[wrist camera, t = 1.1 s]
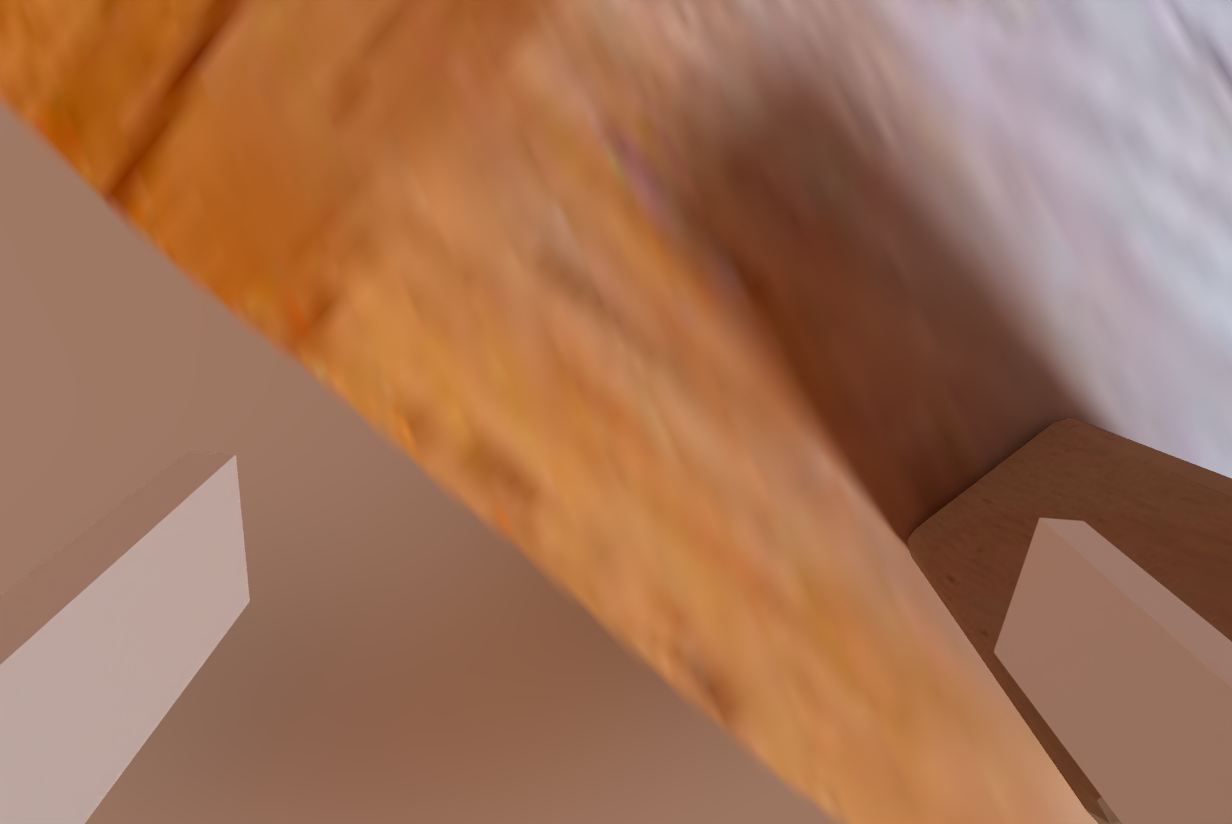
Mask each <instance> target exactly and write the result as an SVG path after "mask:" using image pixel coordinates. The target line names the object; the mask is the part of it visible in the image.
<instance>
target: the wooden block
mask: <svg viewBox="0 0 1232 824" xmlns="http://www.w3.org/2000/svg"><path fill="white" fill-rule="evenodd" d="M1039 518H1051V519H1064V520H1077V521H1084V522H1085V523H1087V524H1088V525H1089V526H1090V527H1092V528H1093V529H1094V530H1095V531H1096V532H1098V533H1099V534H1100V535H1101V536H1103V537H1104V538H1105V539H1106V540H1108V541H1109V542H1110V543H1111V544H1112V545H1114V546H1115V547H1116V548H1117V549H1119V550H1120V551H1121V552H1122V553H1123V554H1125V555H1126V556H1127V557H1128V558H1130V559H1131V560H1132V561H1133V562H1135V563H1136V564H1137V565H1138V566H1139V567H1141V568H1142V569H1143V570H1144V571H1146V572H1147V573H1148V574H1149V575H1150V576H1152V577H1153V578H1154V579H1155V580H1157V581H1158V582H1159V583H1160V584H1162V585H1163V586H1164V587H1165V588H1166V589H1168V590H1169V591H1170V592H1171V593H1173V594H1174V595H1175V596H1176V597H1177V598H1179V599H1180V600H1181V601H1182V602H1184V603H1185V604H1186V605H1187V606H1189V607H1190V608H1191V609H1192V610H1193V611H1195V612H1196V613H1197V614H1198V615H1200V616H1201V617H1202V618H1203V619H1204V620H1206V621H1207V622H1208V623H1209V624H1211V625H1212V626H1213V627H1214V628H1216V629H1217V630H1218V631H1219V632H1220V633H1222V634H1223V635H1224V636H1225V637H1227V638H1228V639H1229V640H1230V641H1231V642H1232V479H1231V478H1228V477H1226V476H1223V475H1221V474H1218V473H1215V472H1213V471H1210V470H1208V469H1205V468H1202V467H1200V466H1197V465H1194V464H1192V463H1189V462H1187V461H1184V460H1181V459H1179V458H1176V457H1174V456H1171V455H1168V454H1166V453H1163V452H1160V451H1158V450H1155V449H1153V448H1150V447H1147V446H1145V445H1142V444H1140V443H1137V442H1134V441H1132V440H1129V439H1126V438H1124V437H1121V436H1119V435H1116V434H1113V433H1111V432H1108V431H1106V430H1103V429H1100V428H1098V427H1095V426H1092V425H1090V424H1087V423H1085V422H1082V421H1079V420H1077V419H1074V418H1072V417H1070V418H1066V419H1063V420H1060V421H1057V422H1054V423H1052V424H1051V425H1050V426H1048V427H1047V428H1046V429H1045V430H1043V431H1042V432H1041V433H1039V434H1038V435H1037V436H1035V437H1034V438H1033V439H1032V440H1030V441H1029V442H1028V443H1026V444H1025V445H1024V446H1022V447H1021V448H1020V449H1019V450H1017V451H1016V452H1015V453H1013V454H1012V455H1011V456H1009V457H1008V458H1007V459H1006V460H1004V461H1003V462H1002V463H1000V464H999V465H998V466H996V467H995V468H994V469H993V470H991V471H990V472H989V473H987V474H986V475H985V476H983V477H982V478H981V479H980V480H978V481H977V482H976V483H974V484H973V485H972V486H970V487H969V488H968V489H967V490H965V491H964V492H963V493H961V494H960V495H959V496H957V497H956V498H955V499H954V500H952V501H951V502H950V503H948V504H947V505H946V506H944V507H943V508H942V509H941V510H939V511H938V512H937V513H935V514H934V515H933V516H931V517H930V518H929V519H928V520H926V521H925V522H924V523H922V524H921V525H920V526H918V527H917V528H916V529H915V530H914V531H913V533H912V534H911V536H910V537H909V538H908V541H907V544H908V547H909V550H910V553H911V556H912V558H913V559H914V561H915V562H916V564H917V565H918V567H919V568H920V570H921V571H922V572H923V574H924V575H925V577H926V578H927V580H928V581H929V583H930V584H931V585H932V587H933V588H934V590H935V591H936V593H937V594H938V596H939V597H940V599H941V600H942V601H943V603H944V604H945V606H946V607H947V609H948V610H949V612H950V613H951V615H952V616H953V617H954V619H955V620H956V622H957V623H958V625H959V626H960V628H961V629H962V630H963V632H964V633H965V635H966V636H967V638H968V639H969V641H970V642H971V644H972V645H973V646H974V648H975V649H976V651H977V652H978V654H979V655H980V657H981V658H982V660H983V661H984V662H985V664H986V665H987V667H988V668H989V670H990V671H991V673H992V674H993V675H994V677H995V678H996V680H997V681H998V683H999V684H1000V686H1001V687H1002V689H1003V690H1004V691H1005V693H1006V694H1007V696H1008V697H1009V699H1010V700H1011V702H1012V703H1013V705H1014V706H1015V707H1016V709H1017V710H1018V712H1019V713H1020V715H1021V716H1022V718H1023V719H1024V720H1025V722H1026V723H1027V725H1028V726H1029V728H1030V729H1031V731H1032V732H1033V734H1034V735H1035V736H1036V738H1037V739H1038V741H1039V742H1040V744H1041V745H1042V747H1043V748H1044V750H1045V751H1046V752H1047V754H1048V755H1049V757H1050V758H1051V760H1052V761H1053V763H1054V764H1055V765H1056V767H1057V768H1058V770H1059V771H1060V773H1061V774H1062V776H1063V777H1064V779H1065V780H1066V781H1067V783H1068V784H1069V786H1070V787H1071V789H1072V790H1073V792H1074V793H1075V794H1076V796H1077V797H1078V799H1079V800H1080V802H1081V803H1082V805H1083V806H1084V808H1085V809H1086V810H1087V811H1088V813H1089V814H1090V815H1091V816H1092V817H1093V818H1094V819H1095V820H1096V821H1097V822H1098V823H1099V824H1122V823H1121V822H1120V820H1119V819H1118V818H1117V816H1116V815H1115V814H1114V812H1113V811H1112V810H1111V808H1110V807H1109V806H1108V804H1107V803H1106V802H1105V800H1104V799H1103V798H1102V796H1101V795H1100V794H1099V792H1098V791H1097V790H1096V788H1095V787H1094V786H1093V784H1092V783H1091V782H1090V780H1089V779H1088V778H1087V776H1086V775H1085V774H1084V772H1083V771H1082V770H1081V768H1080V767H1079V766H1078V764H1077V763H1076V762H1075V760H1074V759H1073V758H1072V756H1071V755H1070V754H1069V752H1068V751H1067V750H1066V748H1065V747H1064V746H1063V744H1062V743H1061V742H1060V740H1059V739H1058V738H1057V736H1056V735H1055V734H1054V732H1053V731H1052V730H1051V728H1050V727H1049V725H1048V724H1047V723H1046V721H1045V720H1044V719H1043V717H1042V716H1041V715H1040V713H1039V712H1038V711H1037V709H1036V708H1035V707H1034V705H1033V704H1032V703H1031V701H1030V700H1029V699H1028V697H1027V696H1026V695H1025V693H1024V692H1023V691H1022V689H1021V688H1020V687H1019V685H1018V684H1017V683H1016V681H1015V680H1014V679H1013V677H1012V676H1011V675H1010V673H1009V672H1008V671H1007V669H1006V668H1005V667H1004V665H1003V664H1002V663H1001V661H1000V660H999V659H998V657H997V656H996V655H995V653H994V649H995V646H996V644H997V641H998V638H999V635H1000V632H1001V629H1002V626H1003V623H1004V620H1005V617H1006V614H1007V611H1008V608H1009V605H1010V603H1011V600H1012V597H1013V594H1014V591H1015V588H1016V585H1017V582H1018V579H1019V576H1020V573H1021V570H1022V567H1023V564H1024V562H1025V559H1026V556H1027V553H1028V550H1029V547H1030V544H1031V541H1032V538H1033V535H1034V532H1035V529H1036V526H1037V523H1038V521H1039Z"/></svg>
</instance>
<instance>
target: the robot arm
mask: <svg viewBox="0 0 1232 824" xmlns="http://www.w3.org/2000/svg"><path fill="white" fill-rule="evenodd" d="M249 601H250V600H249V589H248V578H247V568H246V557H245V547H244V537H243V526H242V516H241V505H240V494H239V484H238V473H237V463H236V455H234V454H223V453H210V452H197V451H185V452H184V453H182V454H181V455H180V456H178V457H177V458H176V459H174V460H173V461H172V462H171V463H169V464H168V465H167V466H165V467H164V468H163V469H162V470H160V471H159V472H158V473H156V474H155V475H154V476H153V477H151V478H150V479H149V480H147V481H146V482H145V483H144V484H142V485H141V486H140V487H138V488H137V489H136V490H135V491H133V492H132V493H131V494H129V495H128V496H127V497H126V498H124V499H123V500H122V501H120V502H119V503H118V504H116V505H115V506H114V507H113V508H111V509H110V510H109V511H108V512H106V513H105V514H104V515H102V516H101V517H100V518H98V519H97V520H96V521H95V522H93V523H92V524H91V525H90V526H88V527H87V528H86V529H84V530H83V531H82V532H81V533H79V534H78V535H77V536H75V537H74V538H73V539H71V540H70V541H69V542H68V543H66V544H65V545H64V546H63V547H61V548H60V549H59V550H57V551H56V552H55V553H53V554H52V555H51V556H50V557H48V558H47V559H46V560H44V561H43V562H42V563H41V564H40V565H38V566H37V567H35V568H34V569H33V570H32V571H30V572H29V573H28V574H27V575H25V576H24V577H23V578H21V579H20V580H19V581H17V582H16V583H15V584H14V585H12V586H11V587H10V588H8V589H7V590H6V591H5V592H3V593H2V594H1V595H0V824H85V822H86V821H87V820H88V818H89V817H90V815H91V814H92V813H93V811H94V810H95V808H96V807H97V806H98V805H99V803H100V802H101V801H102V799H103V798H104V797H105V795H106V794H107V793H108V791H109V790H110V788H111V787H112V786H113V785H114V783H115V782H116V780H117V779H118V778H119V776H120V775H121V774H122V772H123V771H124V770H125V768H126V767H127V766H128V764H129V763H130V762H131V760H132V759H133V758H134V756H135V755H136V754H137V752H138V751H139V750H140V748H141V747H142V745H143V744H144V743H145V741H146V740H147V739H148V737H149V736H150V735H151V733H152V732H153V731H154V729H155V728H156V727H157V725H158V724H159V723H160V721H161V720H162V719H163V717H164V716H165V715H166V713H167V712H168V710H169V709H170V708H171V706H172V705H173V704H174V702H175V701H176V700H177V698H178V697H179V696H180V694H181V693H182V691H183V690H184V689H185V687H186V686H187V685H188V683H189V682H190V681H191V680H192V678H193V677H194V675H195V674H196V673H197V671H198V670H199V669H200V667H201V666H202V665H203V663H204V662H205V661H206V659H207V658H208V657H209V655H210V654H211V652H212V651H213V650H214V649H215V647H216V646H217V644H218V643H219V642H220V640H221V639H222V638H223V636H224V635H225V634H226V632H227V631H228V630H229V628H230V627H231V626H232V624H233V623H234V622H235V620H236V619H237V618H238V616H239V615H240V613H241V612H242V611H243V610H244V608H245V607H246V605H247V604H248V603H249ZM994 653H995V655H996V656H997V657H998V659H999V660H1000V661H1001V663H1002V664H1003V665H1004V667H1005V668H1006V669H1007V671H1008V672H1009V673H1010V675H1011V676H1012V677H1013V679H1014V680H1015V681H1016V683H1017V684H1018V685H1019V687H1020V688H1021V689H1022V691H1023V692H1024V693H1025V695H1026V696H1027V697H1028V699H1029V700H1030V701H1031V703H1032V704H1033V705H1034V707H1035V708H1036V709H1037V711H1038V712H1039V713H1040V715H1041V716H1042V717H1043V719H1044V720H1045V721H1046V723H1047V724H1048V725H1049V727H1050V728H1051V730H1052V731H1053V732H1054V734H1055V735H1056V736H1057V738H1058V739H1059V740H1060V742H1061V743H1062V744H1063V746H1064V747H1065V748H1066V750H1067V751H1068V752H1069V754H1070V755H1071V756H1072V758H1073V759H1074V760H1075V762H1076V763H1077V764H1078V766H1079V767H1080V768H1081V770H1082V771H1083V772H1084V774H1085V775H1086V776H1087V778H1088V779H1089V780H1090V782H1091V783H1092V784H1093V786H1094V787H1095V788H1096V790H1097V791H1098V792H1099V794H1100V795H1101V796H1102V798H1103V799H1104V800H1105V802H1106V803H1107V804H1108V806H1109V807H1110V808H1111V810H1112V811H1113V812H1114V814H1115V815H1116V816H1117V818H1118V819H1119V820H1120V822H1121V823H1122V824H1232V642H1231V641H1230V640H1229V639H1228V638H1227V637H1225V636H1224V635H1223V634H1222V633H1220V632H1219V631H1218V630H1217V629H1216V628H1214V627H1213V626H1212V625H1211V624H1209V623H1208V622H1207V621H1206V620H1204V619H1203V618H1202V617H1201V616H1200V615H1198V614H1197V613H1196V612H1195V611H1193V610H1192V609H1191V608H1190V607H1189V606H1187V605H1186V604H1185V603H1184V602H1182V601H1181V600H1180V599H1179V598H1177V597H1176V596H1175V595H1174V594H1173V593H1171V592H1170V591H1169V590H1168V589H1166V588H1165V587H1164V586H1163V585H1162V584H1160V583H1159V582H1158V581H1157V580H1155V579H1154V578H1153V577H1152V576H1150V575H1149V574H1148V573H1147V572H1146V571H1144V570H1143V569H1142V568H1141V567H1139V566H1138V565H1137V564H1136V563H1135V562H1133V561H1132V560H1131V559H1130V558H1128V557H1127V556H1126V555H1125V554H1123V553H1122V552H1121V551H1120V550H1119V549H1117V548H1116V547H1115V546H1114V545H1112V544H1111V543H1110V542H1109V541H1108V540H1106V539H1105V538H1104V537H1103V536H1101V535H1100V534H1099V533H1098V532H1096V531H1095V530H1094V529H1093V528H1092V527H1090V526H1089V525H1088V524H1087V523H1085V522H1084V521H1077V520H1064V519H1051V518H1039V521H1038V523H1037V526H1036V529H1035V532H1034V535H1033V538H1032V541H1031V544H1030V547H1029V550H1028V553H1027V556H1026V559H1025V562H1024V564H1023V567H1022V570H1021V573H1020V576H1019V579H1018V582H1017V585H1016V588H1015V591H1014V594H1013V597H1012V600H1011V603H1010V605H1009V608H1008V611H1007V614H1006V617H1005V620H1004V623H1003V626H1002V629H1001V632H1000V635H999V638H998V641H997V644H996V646H995V649H994Z"/></svg>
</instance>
